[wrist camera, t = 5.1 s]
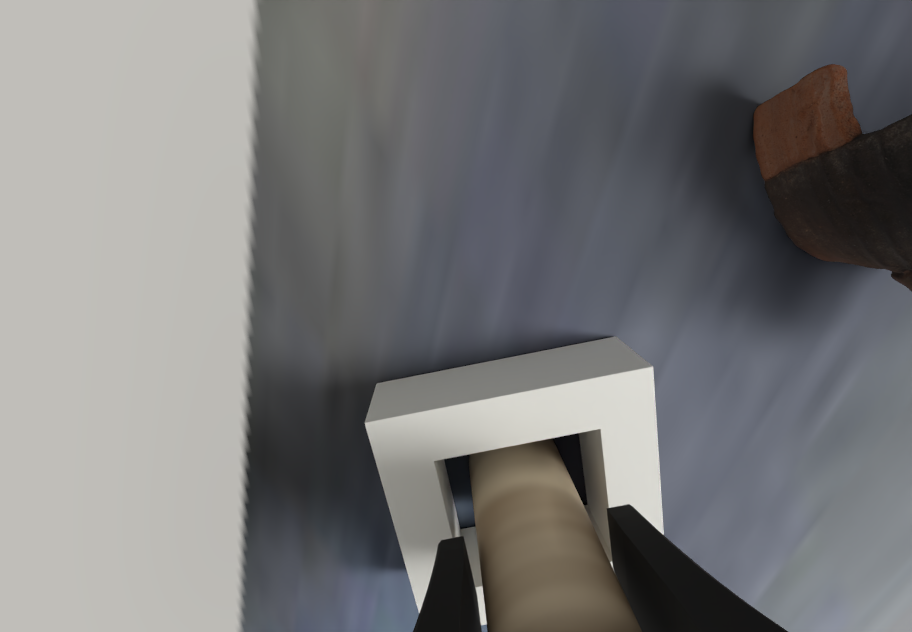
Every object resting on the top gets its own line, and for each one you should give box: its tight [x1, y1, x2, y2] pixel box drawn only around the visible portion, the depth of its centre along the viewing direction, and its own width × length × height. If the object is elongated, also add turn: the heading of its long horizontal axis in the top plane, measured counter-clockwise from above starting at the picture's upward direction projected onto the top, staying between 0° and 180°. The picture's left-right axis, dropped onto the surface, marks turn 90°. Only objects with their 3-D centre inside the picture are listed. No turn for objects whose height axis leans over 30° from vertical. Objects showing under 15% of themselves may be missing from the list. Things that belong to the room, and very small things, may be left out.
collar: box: [365, 337, 664, 625], centre depth 14 cm, size 8×8×2 cm
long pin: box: [469, 438, 642, 632], centre depth 12 cm, size 3×3×7 cm
